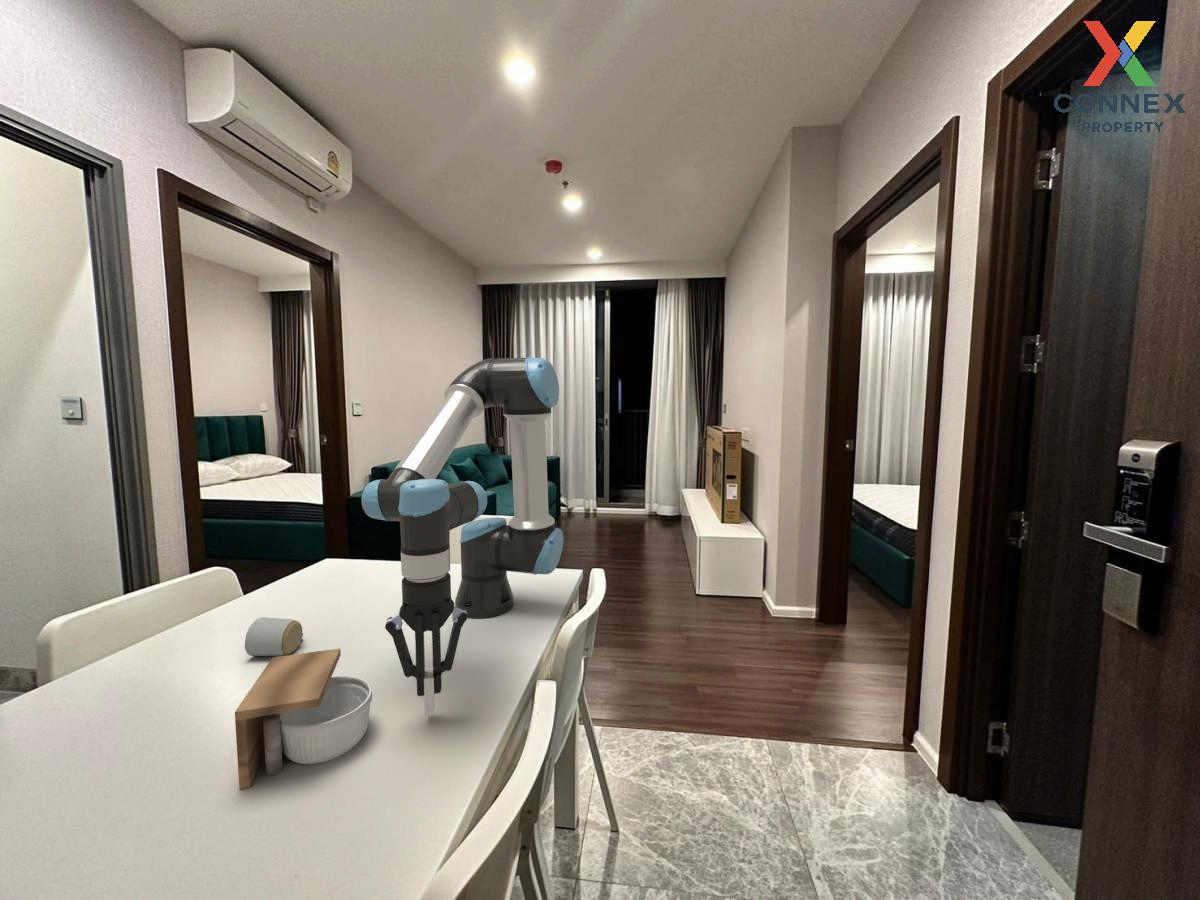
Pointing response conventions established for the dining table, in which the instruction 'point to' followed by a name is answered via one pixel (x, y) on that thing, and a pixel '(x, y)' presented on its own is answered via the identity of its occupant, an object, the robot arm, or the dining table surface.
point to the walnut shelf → (278, 708)
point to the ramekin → (328, 722)
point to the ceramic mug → (273, 637)
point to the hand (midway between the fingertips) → (430, 711)
